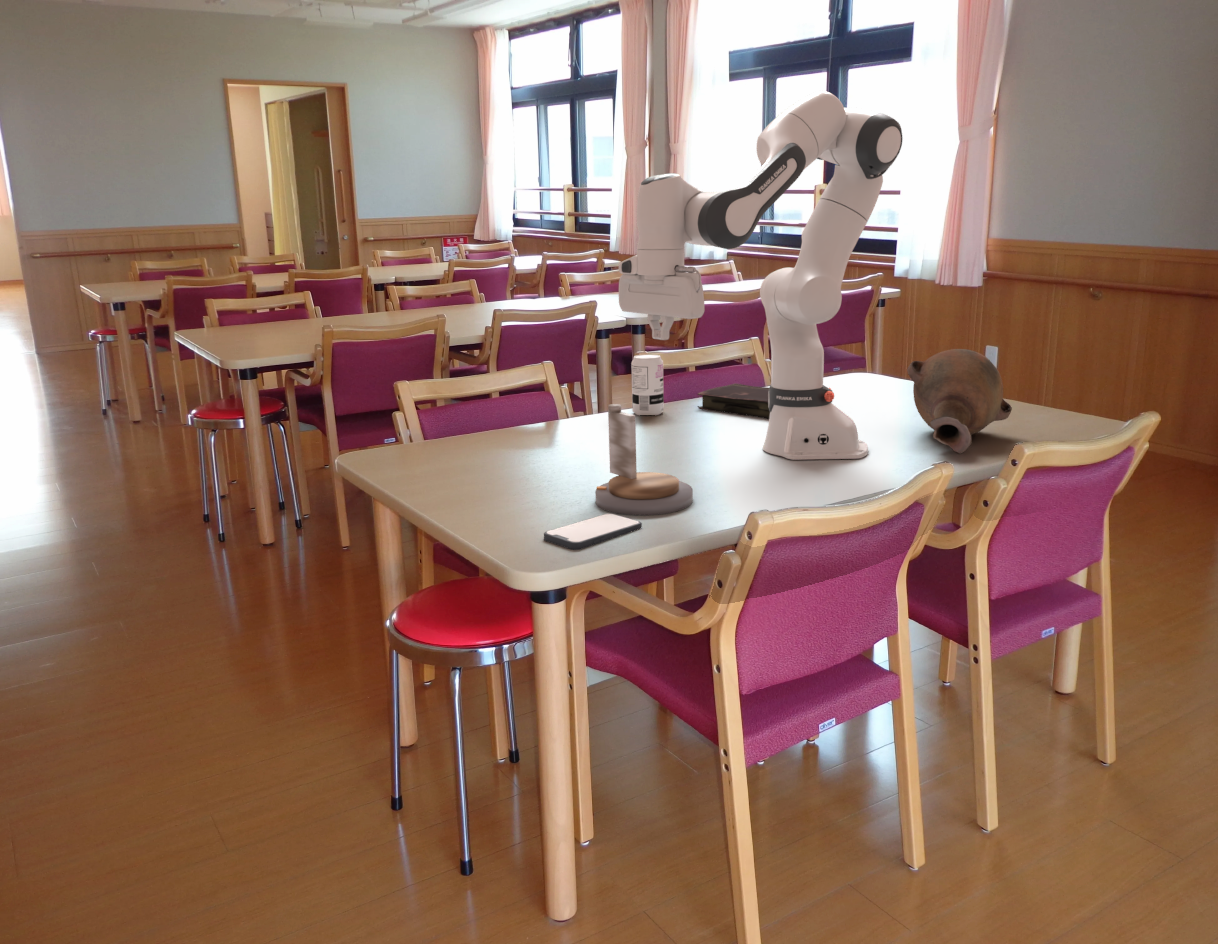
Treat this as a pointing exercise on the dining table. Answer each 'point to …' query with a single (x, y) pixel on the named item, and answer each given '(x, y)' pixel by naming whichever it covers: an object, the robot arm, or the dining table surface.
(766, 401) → the diary
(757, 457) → the dining table surface
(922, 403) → the jug
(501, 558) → the dining table surface
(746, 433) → the dining table surface
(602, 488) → the dial base
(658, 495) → the dial
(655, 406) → the supplement can
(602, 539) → the smartphone
